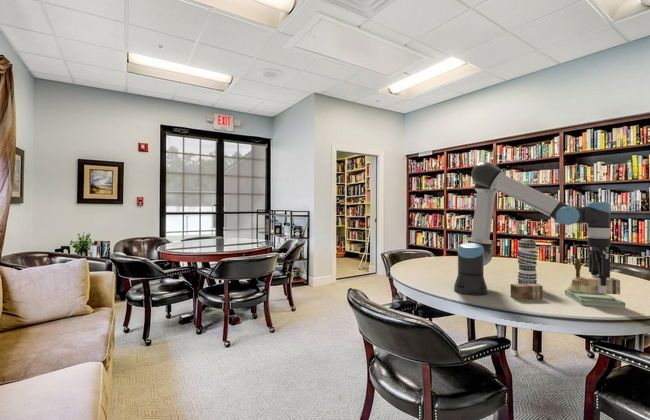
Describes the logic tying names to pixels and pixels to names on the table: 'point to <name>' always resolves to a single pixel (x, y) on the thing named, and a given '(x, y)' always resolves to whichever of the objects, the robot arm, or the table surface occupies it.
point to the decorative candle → (527, 261)
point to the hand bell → (576, 281)
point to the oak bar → (592, 285)
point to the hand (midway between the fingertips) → (599, 291)
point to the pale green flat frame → (594, 299)
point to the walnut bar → (526, 291)
